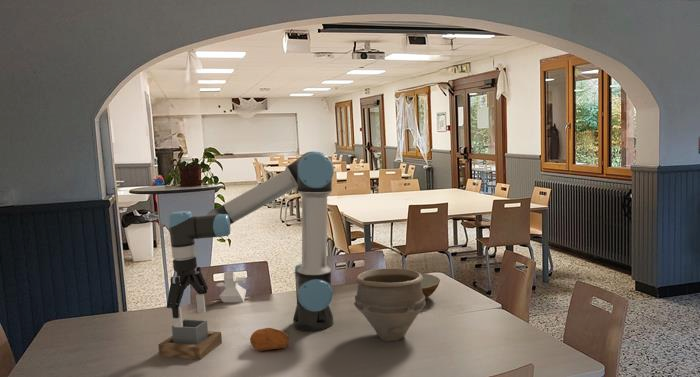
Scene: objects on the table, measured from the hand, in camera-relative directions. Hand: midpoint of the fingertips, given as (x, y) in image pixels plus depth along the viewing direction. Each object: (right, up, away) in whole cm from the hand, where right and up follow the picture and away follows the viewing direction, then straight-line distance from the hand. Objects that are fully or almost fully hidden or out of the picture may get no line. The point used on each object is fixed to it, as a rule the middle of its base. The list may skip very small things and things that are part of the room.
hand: (190, 319), depth 174 cm
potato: (+27, -10, -2) cm, 29 cm away
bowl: (+79, -3, +45) cm, 91 cm away
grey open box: (0, -9, +1) cm, 9 cm away
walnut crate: (0, -10, +1) cm, 10 cm away
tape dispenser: (+2, -6, +54) cm, 55 cm away
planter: (+68, -7, +5) cm, 68 cm away
